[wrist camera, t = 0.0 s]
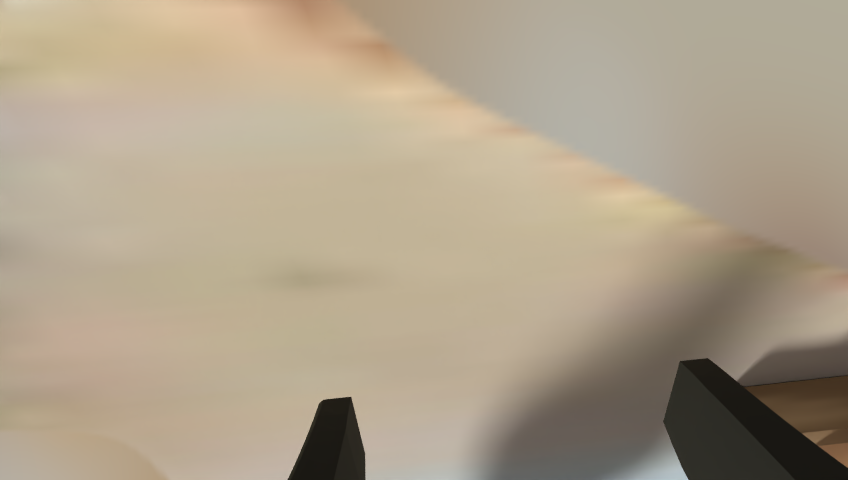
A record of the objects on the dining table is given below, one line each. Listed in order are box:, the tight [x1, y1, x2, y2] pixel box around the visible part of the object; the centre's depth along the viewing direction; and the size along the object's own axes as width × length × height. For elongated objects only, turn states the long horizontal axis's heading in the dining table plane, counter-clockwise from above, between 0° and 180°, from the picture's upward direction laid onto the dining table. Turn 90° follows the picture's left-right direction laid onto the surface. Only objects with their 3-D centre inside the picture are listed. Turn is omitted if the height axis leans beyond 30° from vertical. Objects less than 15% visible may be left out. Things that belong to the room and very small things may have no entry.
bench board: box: [744, 376, 848, 446], centre depth 29 cm, size 13×10×3 cm
